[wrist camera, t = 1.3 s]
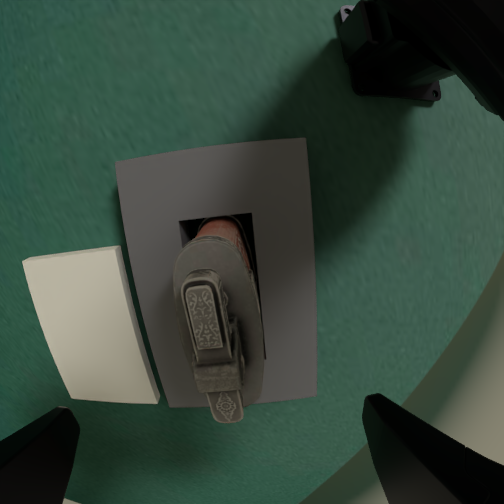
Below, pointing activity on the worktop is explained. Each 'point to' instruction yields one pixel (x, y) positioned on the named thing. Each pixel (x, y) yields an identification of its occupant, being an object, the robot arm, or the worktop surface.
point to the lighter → (220, 316)
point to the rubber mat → (92, 325)
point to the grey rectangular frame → (266, 249)
